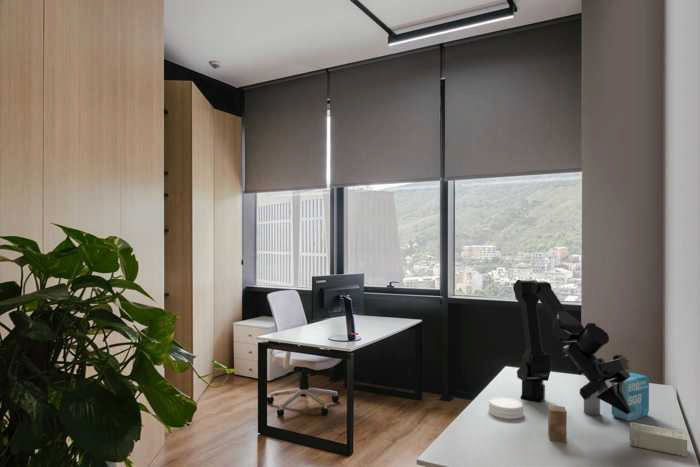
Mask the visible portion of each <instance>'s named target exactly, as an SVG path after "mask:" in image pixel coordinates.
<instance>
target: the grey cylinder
mask: <svg viewBox="0 0 700 467" xmlns="http://www.w3.org/2000/svg"><path fill="white" fill-rule="evenodd" d="M585 385H586V384H584V385H583V386H585ZM598 392H599V391H597V392H596V393H594V394H593V395H592V396H591V397H590V398H589V399H586V400H584V399H583V413H584V414H585V415H589V416H592V417H599V416H600V415H601V399H599V398H598V399H597V398H596V397H597V396H598V395H600V394H599V393H598Z"/></svg>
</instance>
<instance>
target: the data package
mask: <svg viewBox="0 0 700 467" xmlns="http://www.w3.org/2000/svg"><path fill="white" fill-rule="evenodd" d="M628 374H629V375H630V376H631V377H630V378H628V379H627V380H625V381H624V382H623V385H622V392H623V395H624V397H625V399H626V402H627V404H628V406H629V408H630V410H631V412H630V413H629V414H626V413H624V412H622V411H620V410H619V409H617V408H615V407H614V406H612V405H611V415H612V416H613V417H614V418H618V419H620V420H624V421H627V422H630V421H631V422H632V421H634V420H638V419H641V418H643V417H646V416H647V415H649V412H650V411H649V410H650V379H649V376H647V375H644V374H643V375H642V374H639V373H635V372H628Z"/></svg>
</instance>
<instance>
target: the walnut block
mask: <svg viewBox="0 0 700 467" xmlns="http://www.w3.org/2000/svg"><path fill="white" fill-rule="evenodd" d="M567 414H568V413H567V410H566V407H565V406H559V405H552V404H551V405H550V404H548V416H547V417H548V418H547V420H548V422H547V424H548V425H547V431H548V432H547V436H548V439H549V440H548V441H550V442H555V443H564V444H566V443H567V435H568V434H567V432H568V430H567V427H568V426H567V424H568V422H567V418H568V417H567V416H568V415H567Z"/></svg>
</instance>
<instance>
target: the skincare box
mask: <svg viewBox="0 0 700 467" xmlns="http://www.w3.org/2000/svg"><path fill="white" fill-rule="evenodd" d="M629 422H630V421H629ZM629 425H630V426H629V446H631V447H636V448H641V449H646V450H650V451H656V452H661V453H666V454H670V455H675V454H676V455H675V456H680V455H684V456H683V457H685V456H687V457H688V437H687V434H686V431H682V430H676V429H670V428H665V427H661V426H660V427H659V426H653V425H647V424H642V423H637V422H633V421H631V422H630V424H629Z"/></svg>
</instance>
